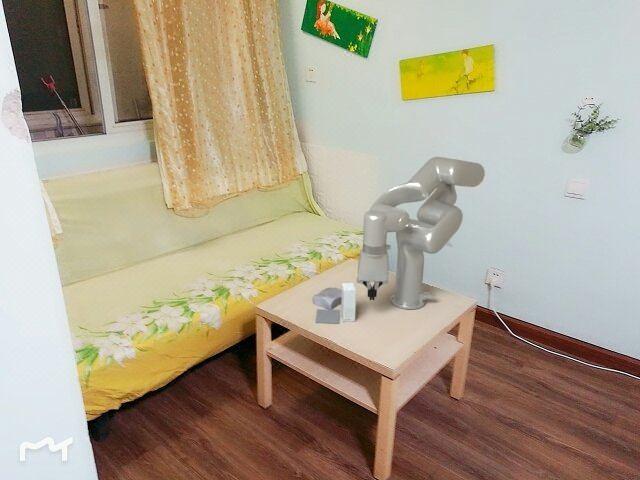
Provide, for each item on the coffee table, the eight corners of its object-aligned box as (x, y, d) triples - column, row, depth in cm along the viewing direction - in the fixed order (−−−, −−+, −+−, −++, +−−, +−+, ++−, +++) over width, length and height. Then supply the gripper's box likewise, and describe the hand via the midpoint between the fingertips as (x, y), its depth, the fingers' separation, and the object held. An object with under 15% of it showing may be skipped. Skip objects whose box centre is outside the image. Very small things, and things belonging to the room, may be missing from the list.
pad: (339, 310, 165) (339, 309, 165) (339, 323, 157) (339, 322, 157) (317, 310, 166) (317, 309, 166) (315, 323, 157) (315, 322, 157)
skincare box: (355, 321, 158) (356, 290, 154) (343, 322, 158) (343, 290, 154) (352, 313, 164) (353, 282, 160) (340, 313, 164) (341, 282, 159)
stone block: (310, 308, 171) (332, 311, 165) (308, 296, 170) (330, 298, 164) (329, 297, 180) (350, 300, 174) (327, 285, 179) (348, 287, 173)
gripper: (396, 244, 155) (392, 294, 161) (351, 243, 155) (349, 293, 162) (398, 253, 148) (395, 304, 154) (351, 252, 148) (349, 303, 155)
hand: (371, 298), depth 158 cm, fingers closed
